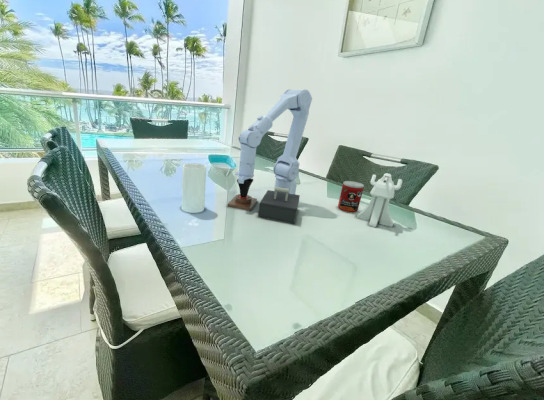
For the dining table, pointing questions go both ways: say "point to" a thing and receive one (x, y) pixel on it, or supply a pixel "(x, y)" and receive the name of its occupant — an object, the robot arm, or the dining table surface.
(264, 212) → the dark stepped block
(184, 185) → the cup
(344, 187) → the canned food
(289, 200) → the lid
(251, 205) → the control block
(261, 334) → the dining table surface
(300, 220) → the dining table surface
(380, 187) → the white mech figurine
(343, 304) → the dining table surface
